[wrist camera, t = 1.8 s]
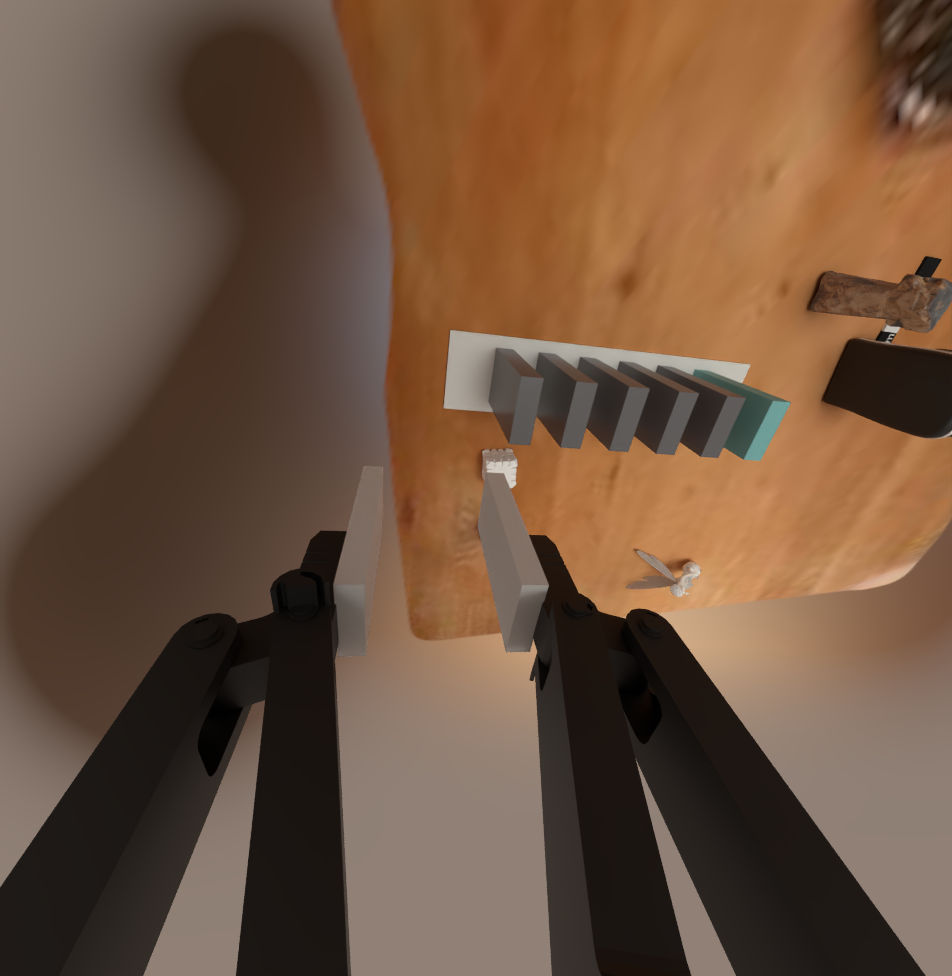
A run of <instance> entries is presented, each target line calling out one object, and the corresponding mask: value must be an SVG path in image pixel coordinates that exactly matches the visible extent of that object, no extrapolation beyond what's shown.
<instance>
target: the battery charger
mask: <svg viewBox="0 0 952 976" xmlns="http://www.w3.org/2000/svg"><path fill="white" fill-rule="evenodd" d="M824 402H825V403H828V404H831V405H834V406H837V407H840V408H843V409H846V410H848V411H851V412H854V413H856V414H858V415H860V416H863V417H865V418H868V419H870V420H872V421H875V422H877V423H880V424H882V425H885V426H888V427H890V428H893V429H896V430H899V431H902V432H905V433H908V434H911V435H914V436H918V437H922V438H927V439H939V438H945V437H952V350H948V349H930V348H923V347H915V346H908V345H899V344H892V343H887V342H882V341H877V340H872V339H865V338H857V339H853V340H851V341H850V343H849V345H848V347H847V349H846V351H845V353H844V354H843V357H842V359H841V361H840V363H839V365H838V367H837V369H836V372H835V374H834V376H833V379H832V381H831V383H830V386H829V388H828V391H827V393H826V396H825V398H824Z"/></svg>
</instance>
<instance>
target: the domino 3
mask: <svg viewBox="0 0 952 976" xmlns="http://www.w3.org/2000/svg"><path fill="white" fill-rule="evenodd" d="M577 369H578V370H579V371H581V372H582V373H584V374H585V375H586V376H588V377H589V378H591V379H592V380H594V381H595V382H597V383H598V386H597V390H596V393H595V397H594V401H593V404H592V408H591V411H590V415H589V419H588V422H587V426H586V428H587V429H588V430H589V431H590V432H591V433H592V434H593V435H594V436H595V437H596V438H597V439H598V440H599V441H600V442H601V443H602V444H603V445H604V446H605V447H606V448H607V449H608V450H609V451H623V452H628V451H629V448H630V445H631V442H632V439H633V436H634V434H635V431H636V428H637V425H638V422H639V419H640V416H641V413H642V410H643V407H644V404H645V401H646V399H647V396H648V393H649V390H650V389H649V388H648V387H646V386H644V385H642V384H641V383H639V382H637V381H635V380H634V379H632V378H630V377H628V376H626V375H625V374H623V373H621V372H619V371H618V370H616V369H614V368H612V367H611V366H609V365H607V364H605V363H603V362H602V361H600V360H598V359H596V358H588V357H580V359H579V363H578V367H577Z"/></svg>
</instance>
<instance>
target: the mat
mask: <svg viewBox="0 0 952 976" xmlns="http://www.w3.org/2000/svg"><path fill="white" fill-rule="evenodd" d="M496 347H497V348H506V349H514V350H515V351H516V352H517V353H518V354H519V355H520V356H521V357H522V358H523V359H524V360H525V361H526V362H527V363H528V364H529V365H530V366H531V367H533V368H534V369H535V370H536V365H537V360H538V355H539V352H542V353H551V354H556V355H558V356H559V357H561V358H562V359H564V360H565V361H566V362H568V363H569V364H571V365H572V366H574V367H575V368H576V369H577V367H578V363H579V359H580V357H588V358H596V359H598V360H600V361H602V362H603V363H605V364H607V365H609V366H611V367H612V368H614V369H616V370H617V369H618V365H619V362H620V361H625V362H634V363H637V364H639V365H641V366H643V367H645V368H647V369H649V370H651V371H653V372H656V369H657V366H658V365H661V366H670V367H675V368H677V369H679V370H682V371H684V372H686V373H689V374H691V375H693V372H694V370H695V369H698V370H707V371H711V372H714V373H716V374H719V375H721V376H724V377H727V378H729V379H732V380H734V381H737V382H739V383H742V382H743V380H744V378H745V376H746V374H747V371H748V369H749V367H750V364H744V363H735V362H727V361H718V360H709V359H701V358H692V357H683V356H674V355H666V354H657V353H648V352H640V351H631V350H622V349H614V348H605V347H596V346H588V345H579V344H570V343H561V342H553V341H544V340H535V339H527V338H518V337H509V336H501V335H492V334H483V333H474V332H466V331H457V330H450V339H449V350H448V362H447V373H446V384H445V396H444V408H447V409H459V410H472V411H484V412H493V410H492V408H491V406H490V404H489V402H488V401H489V394H490V387H491V380H492V373H493V366H494V359H495V352H496Z"/></svg>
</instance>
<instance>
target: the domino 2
mask: <svg viewBox="0 0 952 976" xmlns="http://www.w3.org/2000/svg"><path fill="white" fill-rule="evenodd" d="M536 371H537V372H538V373H539V374H540V375H541V376H542V377H543V378H544V380H543V385H542V390H541V395H540V399H539V404H538V409H537V414H536V416H537V417H538V418H539V420H540V421H541V422H542V424H543V425H544V426H545V428H546V429H547V430H548V432H549V433H550V434H551V436H552V437H553V438H554V440H555V441H556V442H557V443H558V445H559V446H560V447H563V448H578V449H580V448H581V444H582V440H583V437H584V433H585V430H586V426H587V422H588V419H589V415H590V411H591V408H592V404H593V401H594V397H595V393H596V390H597V386H598V383H597V382H595V381H594V380H592V379H591V378H589V377H588V376H586V375H585V374H584V373H582V372H581V371H579V370H578V369H576V368H575V367H574V366H572V365H571V364H569V363H568V362H566V361H565V360H564V359H562V358H561V357H559V356H558V355H556V354H551V353H542V352H539V355H538V360H537V365H536Z"/></svg>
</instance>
